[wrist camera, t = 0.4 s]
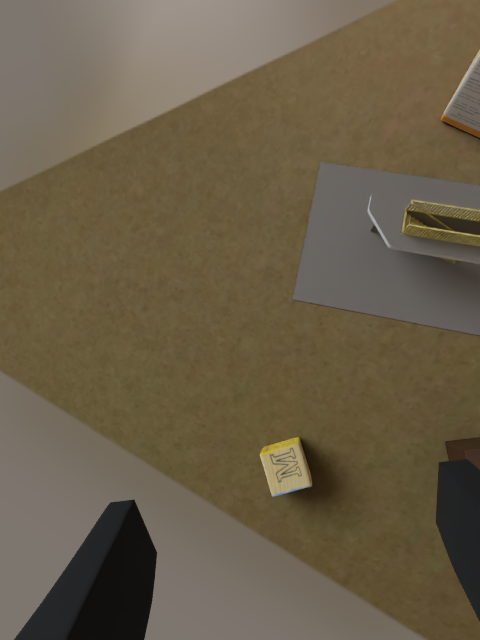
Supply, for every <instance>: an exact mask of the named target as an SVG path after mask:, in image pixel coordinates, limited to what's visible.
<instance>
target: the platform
mask: <svg viewBox="0 0 480 640" xmlns="http://www.w3.org/2000/svg"><path fill="white" fill-rule="evenodd" d="M292 299H293V300H298V301H303V302H309V303H314V304H319V305H324V306H329V307H334V308H340V309H345V310H350V311H355V312H360V313H365V314H371V315H376V316H381V317H386V318H391V319H396V320H402V321H407V322H412V323H417V324H422V325H427V326H433V327H438V328H443V329H448V330H453V331H458V332H464V333H469V334H474V335H479V336H480V185H475V184H468V183H461V182H455V181H448V180H441V179H434V178H427V177H420V176H414V175H407V174H400V173H393V172H386V171H379V170H373V169H366V168H359V167H352V166H345V165H338V164H332V163H325V162H321V163H320V167H319V172H318V177H317V182H316V187H315V192H314V197H313V201H312V206H311V211H310V216H309V221H308V226H307V230H306V235H305V240H304V245H303V250H302V255H301V260H300V264H299V269H298V274H297V279H296V284H295V289H294V293H293V298H292Z"/></svg>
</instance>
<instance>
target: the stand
mask: <svg viewBox="0 0 480 640" xmlns="http://www.w3.org/2000/svg"><path fill="white" fill-rule="evenodd" d="M445 444H446V448H447V453H448V458H449V461H455V460H463V459H467V460H469V461H470V462H472V463H473V464H474V465H475V466H476V467H477V468H478V469H479V470H480V437H478V438H470V439H462V440H454V441H446V442H445Z"/></svg>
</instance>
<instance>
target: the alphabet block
mask: <svg viewBox="0 0 480 640" xmlns="http://www.w3.org/2000/svg"><path fill="white" fill-rule="evenodd" d="M260 457H261V460H262V464H263V467H264V470H265V474H266V477H267V480H268V484H269V487H270V491H271V495H272V496H278V495H282V494H286V493H289V492H293V491H297V490H300V489H304V488H308V487H311V486H312V478H311V473H310V470H309V467H308V464H307V460H306V457H305V454H304V451H303V448H302V444H301V441H300V438H299V437H296V438H292V439H289V440H286V441H282V442H279V443H275V444H272V445H269V446H265V447H263V449H262V451H261V453H260Z"/></svg>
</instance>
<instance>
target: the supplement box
mask: <svg viewBox="0 0 480 640" xmlns="http://www.w3.org/2000/svg"><path fill="white" fill-rule="evenodd" d="M441 121H444V122H446V123H448V124H450V125H452V126H454V127H456V128H459V129H461V130H463V131H465V132H467V133H470V134H472V135H474V136H477V137H479V138H480V50H479V52H478V53H477V55H476V57H475V59H474V60H473V62H472V64H471V65H470V67H469V69H468V70H467V72H466V74H465V76H464V77H463V79H462V81H461V83H460V84H459V86H458V88H457V90H456V92H455V94H454V95H453V97H452V99H451V101H450V102H449V104H448V106H447V108H446V109H445V111H444V113H443V115H442V117H441Z"/></svg>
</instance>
